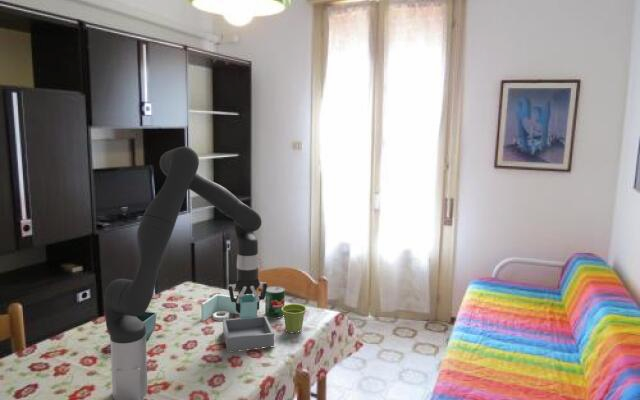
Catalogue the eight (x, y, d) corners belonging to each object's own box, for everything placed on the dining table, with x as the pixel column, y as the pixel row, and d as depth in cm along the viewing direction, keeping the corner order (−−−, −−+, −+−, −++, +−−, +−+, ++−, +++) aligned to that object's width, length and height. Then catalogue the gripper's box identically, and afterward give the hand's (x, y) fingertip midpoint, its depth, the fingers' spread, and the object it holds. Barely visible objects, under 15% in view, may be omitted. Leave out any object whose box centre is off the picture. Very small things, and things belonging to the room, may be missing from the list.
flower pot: (144, 346, 158) (143, 322, 157) (121, 343, 160) (120, 319, 159) (157, 335, 167) (157, 312, 166) (136, 333, 169) (135, 309, 167)
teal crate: (257, 317, 162) (257, 301, 161) (241, 319, 160) (241, 303, 159) (253, 309, 169) (253, 293, 168) (238, 310, 168) (238, 295, 167)
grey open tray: (273, 347, 161) (274, 333, 160) (227, 352, 156) (227, 338, 155) (265, 328, 176) (265, 315, 175) (223, 332, 171) (223, 319, 170)
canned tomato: (277, 320, 184) (277, 293, 182) (261, 315, 188) (261, 290, 186) (288, 313, 190) (288, 288, 189) (272, 309, 194) (273, 284, 193)
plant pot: (276, 331, 173) (276, 309, 172) (289, 323, 181) (289, 302, 180) (297, 337, 169) (298, 315, 167) (310, 328, 177) (310, 306, 176)
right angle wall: (201, 322, 181) (201, 304, 180) (217, 311, 193) (217, 294, 191) (228, 326, 178) (228, 308, 177) (243, 315, 189) (243, 297, 188)
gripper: (228, 270, 156) (228, 317, 159) (269, 267, 161) (269, 313, 163) (225, 264, 163) (226, 309, 166) (265, 261, 168) (265, 305, 170)
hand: (247, 311), depth 164 cm, fingers closed on teal crate, 5 cm apart
